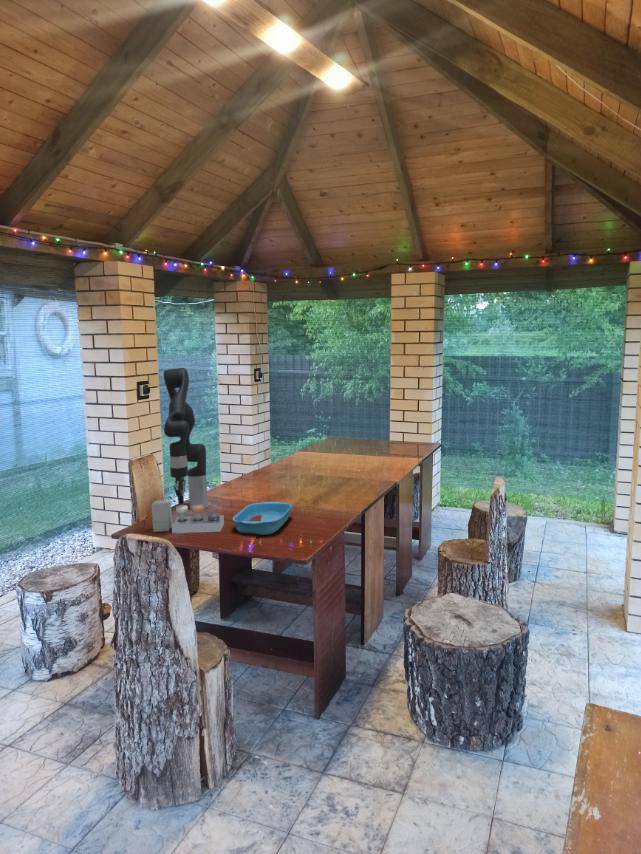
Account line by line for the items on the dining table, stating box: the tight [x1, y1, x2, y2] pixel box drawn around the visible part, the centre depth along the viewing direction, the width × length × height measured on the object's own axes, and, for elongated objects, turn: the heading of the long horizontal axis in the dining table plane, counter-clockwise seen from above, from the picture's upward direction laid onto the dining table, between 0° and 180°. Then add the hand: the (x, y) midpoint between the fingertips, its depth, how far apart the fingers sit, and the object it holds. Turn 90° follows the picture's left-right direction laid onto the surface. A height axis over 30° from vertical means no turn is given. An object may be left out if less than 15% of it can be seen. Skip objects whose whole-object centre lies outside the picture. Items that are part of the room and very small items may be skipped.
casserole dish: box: [232, 501, 293, 536], centre depth 268 cm, size 37×22×7 cm, turn 169°
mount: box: [171, 514, 225, 534], centre depth 264 cm, size 12×21×5 cm, turn 91°
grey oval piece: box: [175, 504, 189, 522], centre depth 263 cm, size 5×5×7 cm
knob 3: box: [207, 512, 221, 520], centre depth 264 cm, size 5×5×7 cm
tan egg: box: [191, 505, 205, 521], centre depth 263 cm, size 5×5×7 cm
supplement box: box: [150, 499, 173, 533], centre depth 267 cm, size 7×7×13 cm
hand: (181, 503), depth 262 cm, fingers closed
